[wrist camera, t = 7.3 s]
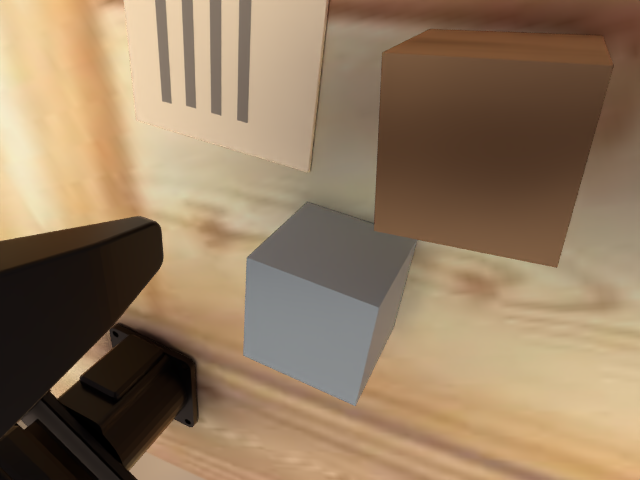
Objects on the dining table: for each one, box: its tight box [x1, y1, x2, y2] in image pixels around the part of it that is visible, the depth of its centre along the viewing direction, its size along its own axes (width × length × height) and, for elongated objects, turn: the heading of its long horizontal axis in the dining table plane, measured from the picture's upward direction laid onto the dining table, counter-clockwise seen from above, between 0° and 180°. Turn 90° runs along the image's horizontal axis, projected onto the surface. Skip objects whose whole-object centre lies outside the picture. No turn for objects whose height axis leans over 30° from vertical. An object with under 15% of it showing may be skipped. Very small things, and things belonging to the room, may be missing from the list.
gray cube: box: [243, 202, 417, 406], centre depth 20 cm, size 5×5×5 cm
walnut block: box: [374, 29, 613, 267], centre depth 14 cm, size 5×5×5 cm
